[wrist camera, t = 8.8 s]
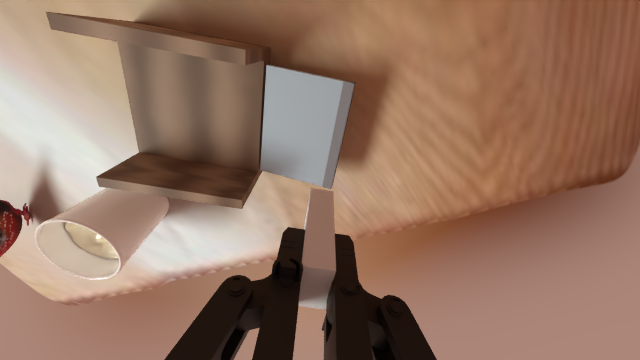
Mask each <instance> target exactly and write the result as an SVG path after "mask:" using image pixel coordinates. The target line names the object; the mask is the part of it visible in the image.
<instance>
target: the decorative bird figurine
mask: <svg viewBox="0 0 640 360" xmlns="http://www.w3.org/2000/svg"><path fill="white" fill-rule="evenodd" d="M25 206H26V203H25V204H24V206H23V211H21V210H19V209H15V208H14V207H13V206H12V205H11V204H10V203H9V202H7V201H4V200H0V257H1V256H2V255H3V254H4V253H5V252H6V251H7V250H8V249H9V248H10V247H11V246H12V245H13V243H14V242H15V241H16V239H17V237H18V235H19V233H20V231H21V228H22V217H21V215H24V219H25V220H26V221H27V225H28V226H29V219H30V214H29V211H28V206H26V208H25Z"/></svg>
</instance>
